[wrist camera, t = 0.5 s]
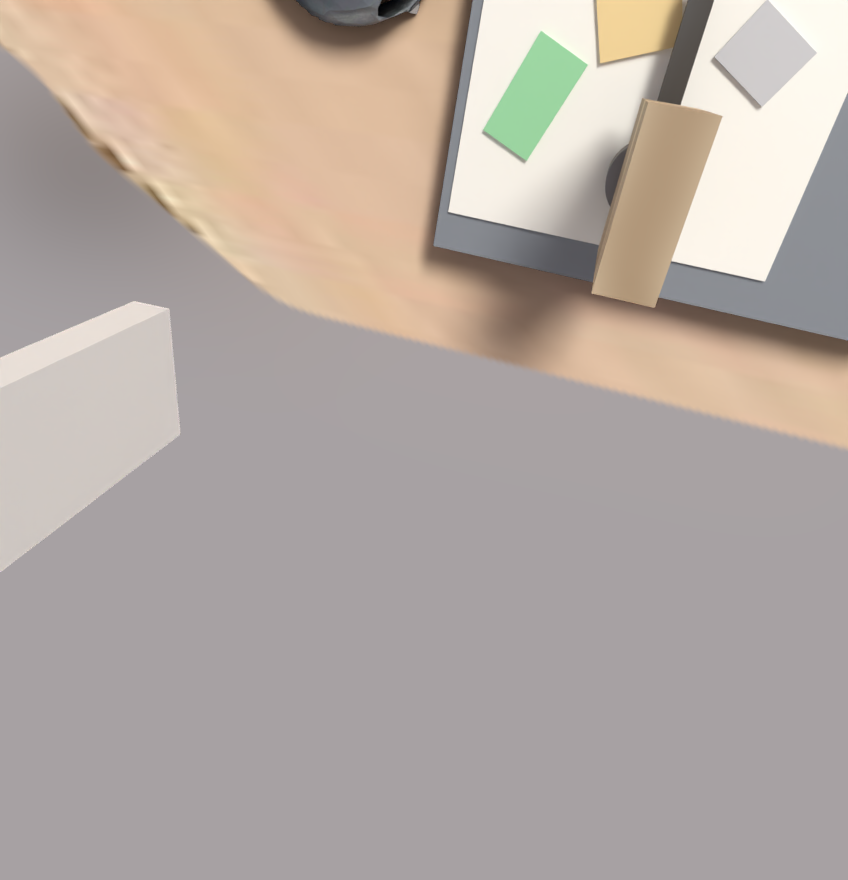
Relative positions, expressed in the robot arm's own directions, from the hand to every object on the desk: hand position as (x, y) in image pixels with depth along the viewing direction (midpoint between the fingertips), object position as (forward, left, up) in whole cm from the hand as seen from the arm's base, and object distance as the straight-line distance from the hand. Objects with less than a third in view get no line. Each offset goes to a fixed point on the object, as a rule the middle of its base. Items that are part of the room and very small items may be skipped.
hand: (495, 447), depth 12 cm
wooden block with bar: (-3, +4, -22) cm, 23 cm away
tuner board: (-1, +6, -24) cm, 25 cm away
